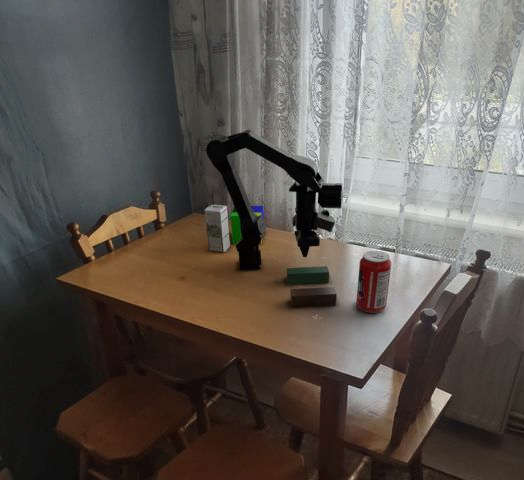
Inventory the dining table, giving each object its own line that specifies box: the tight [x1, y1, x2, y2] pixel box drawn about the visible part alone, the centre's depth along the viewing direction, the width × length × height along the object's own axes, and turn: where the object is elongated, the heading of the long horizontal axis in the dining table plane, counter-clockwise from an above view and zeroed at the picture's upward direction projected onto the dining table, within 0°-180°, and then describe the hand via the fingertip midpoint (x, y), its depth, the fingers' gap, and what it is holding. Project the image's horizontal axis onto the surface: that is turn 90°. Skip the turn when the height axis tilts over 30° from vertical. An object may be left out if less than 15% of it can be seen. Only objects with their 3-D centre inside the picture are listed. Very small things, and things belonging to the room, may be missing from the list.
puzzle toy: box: [230, 205, 265, 245], centre depth 170 cm, size 10×10×10 cm
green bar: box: [286, 265, 330, 286], centre depth 144 cm, size 12×4×4 cm, turn 92°
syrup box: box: [204, 204, 231, 253], centre depth 162 cm, size 6×6×14 cm
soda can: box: [355, 250, 392, 314], centre depth 127 cm, size 8×8×15 cm
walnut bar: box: [289, 286, 337, 308], centre depth 133 cm, size 12×4×4 cm, turn 92°
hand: (304, 256), depth 149 cm, fingers closed
